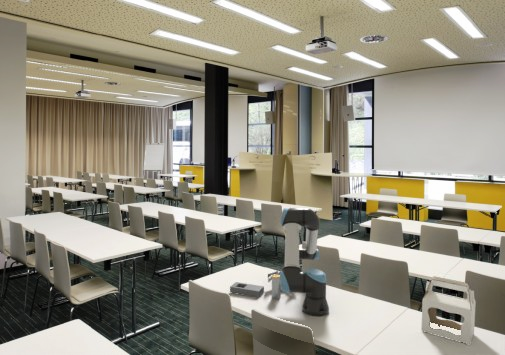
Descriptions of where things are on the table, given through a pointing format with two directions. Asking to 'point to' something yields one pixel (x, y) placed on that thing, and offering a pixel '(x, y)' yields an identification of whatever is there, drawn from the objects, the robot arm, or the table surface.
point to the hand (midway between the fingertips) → (278, 281)
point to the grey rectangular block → (247, 289)
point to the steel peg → (276, 286)
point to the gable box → (449, 309)
